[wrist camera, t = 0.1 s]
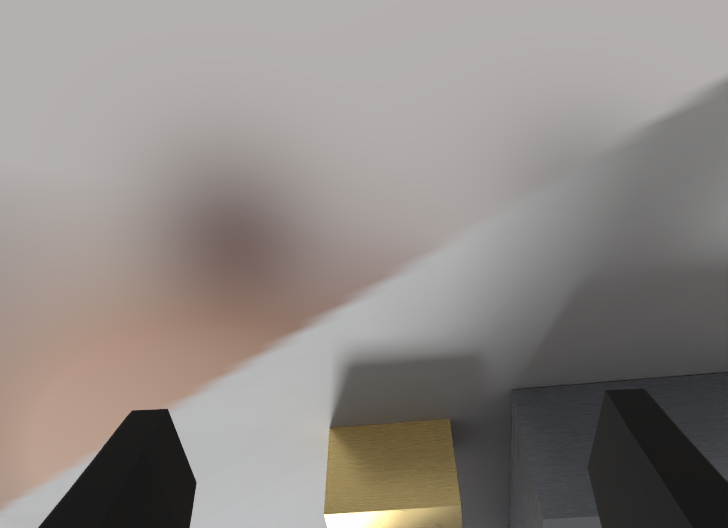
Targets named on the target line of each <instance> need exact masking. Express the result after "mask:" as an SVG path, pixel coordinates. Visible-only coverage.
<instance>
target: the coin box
mask: <svg viewBox="0 0 728 528" xmlns="http://www.w3.org/2000/svg"><path fill="white" fill-rule="evenodd" d="M621 389H645V390H646V391H647V392H648V393H649V394H650V395H651V396H652V397H653V398H654V400H655V401H656V402H657V403H658V404H659V405H660V406H661V408H662V409H663V410H664V411H665V412H666V413H667V414H668V416H669V417H670V418H671V419H672V420H673V421H674V422H675V424H676V425H677V426H678V427H679V428H680V429H681V430H682V432H683V433H684V434H685V435H686V436H687V437H688V438H689V440H690V441H691V442H692V443H693V444H694V445H695V446H696V447H697V448H698V450H699V451H700V452H701V453H702V454H703V455H704V456H705V457H706V458H707V460H708V461H709V462H710V463H711V464H712V465H713V466H714V467H715V468H716V469H717V470H718V472H719V473H720V474H721V475H722V476H723V477H724V478H725V479H726V480H727V481H728V373H716V374H703V375H691V376H679V377H666V378H654V379H641V380H629V381H616V382H604V383H592V384H579V385H567V386H554V387H542V388H529V389H517V390H512V417H511V479H510V528H602V526H601V522H600V519H599V515H598V511H597V507H596V503H595V498H594V494H593V490H592V485H591V481H590V477H589V472H588V464H589V460H590V455H591V451H592V446H593V442H594V437H595V433H596V429H597V424H598V420H599V415H600V411H601V406H602V402H603V397H604V393H605V390H621Z"/></svg>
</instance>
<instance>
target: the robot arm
mask: <svg viewBox="0 0 728 528" xmlns="http://www.w3.org/2000/svg"><path fill="white" fill-rule="evenodd" d="M588 472H589V477H590V481H591V485H592V490H593V494H594V498H595V503H596V507H597V511H598V515H599V519H600V522H601V526H602V528H728V481H727V480H726V479H725V478H724V477H723V476H722V475H721V474H720V473H719V472H718V470H717V469H716V468H715V467H714V466H713V465H712V464H711V463H710V462H709V461H708V460H707V458H706V457H705V456H704V455H703V454H702V453H701V452H700V451H699V450H698V448H697V447H696V446H695V445H694V444H693V443H692V442H691V441H690V440H689V438H688V437H687V436H686V435H685V434H684V433H683V432H682V430H681V429H680V428H679V427H678V426H677V425H676V424H675V422H674V421H673V420H672V419H671V418H670V417H669V416H668V414H667V413H666V412H665V411H664V410H663V409H662V408H661V406H660V405H659V404H658V403H657V402H656V401H655V400H654V398H653V397H652V396H651V395H650V394H649V393H648V392H647V391H646V390H645V389H621V390H605V393H604V397H603V402H602V406H601V411H600V415H599V420H598V424H597V429H596V433H595V437H594V442H593V446H592V451H591V455H590V460H589V464H588ZM195 489H196V480H195V478H194V475H193V473H192V470H191V467H190V465H189V462H188V460H187V457H186V455H185V452H184V450H183V447H182V444H181V442H180V439H179V437H178V434H177V432H176V429H175V427H174V424H173V421H172V419H171V416H170V414H169V411H168V409H158V410H135V411H132V412H131V413H130V414H129V415H128V416H127V417H126V418H125V420H124V421H123V422H122V423H121V425H120V426H119V427H118V428H117V430H116V431H115V432H114V434H113V435H112V436H111V437H110V439H109V440H108V441H107V443H106V444H105V445H104V446H103V448H102V449H101V450H100V452H99V453H98V454H97V455H96V457H95V458H94V459H93V460H92V462H91V463H90V464H89V466H88V467H87V468H86V469H85V471H84V472H83V473H82V474H81V476H80V477H79V478H78V480H77V481H76V482H75V483H74V485H73V486H72V487H71V488H70V490H69V491H68V492H67V493H66V494H65V496H64V497H63V498H62V499H61V501H60V502H59V503H58V504H57V505H56V507H55V508H54V509H53V510H52V512H51V513H50V514H49V515H48V516H47V518H46V519H45V520H44V521H43V522H42V524H41V525H40V526H39V527H38V528H189V527H190V521H191V516H192V509H193V502H194V495H195Z"/></svg>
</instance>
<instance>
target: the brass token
mask: <svg viewBox="0 0 728 528" xmlns="http://www.w3.org/2000/svg"><path fill="white" fill-rule="evenodd" d="M324 516H325V520H326V523H327V527H328V528H463V526H462V510H461V500H460V493H459V485H458V478H457V470H456V462H455V455H454V447H453V440H452V432H451V424H450V419H441V420H428V421H415V422H402V423H389V424H376V425H363V426H350V427H337V428H330V430H329V446H328V461H327V477H326V492H325V507H324Z"/></svg>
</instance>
